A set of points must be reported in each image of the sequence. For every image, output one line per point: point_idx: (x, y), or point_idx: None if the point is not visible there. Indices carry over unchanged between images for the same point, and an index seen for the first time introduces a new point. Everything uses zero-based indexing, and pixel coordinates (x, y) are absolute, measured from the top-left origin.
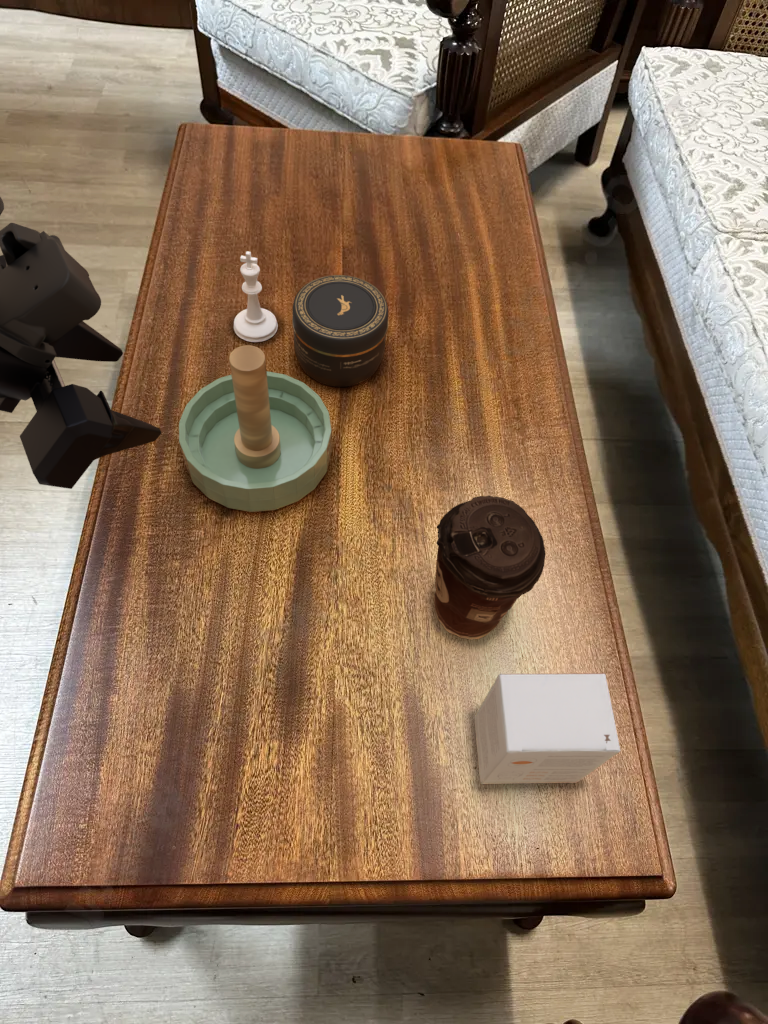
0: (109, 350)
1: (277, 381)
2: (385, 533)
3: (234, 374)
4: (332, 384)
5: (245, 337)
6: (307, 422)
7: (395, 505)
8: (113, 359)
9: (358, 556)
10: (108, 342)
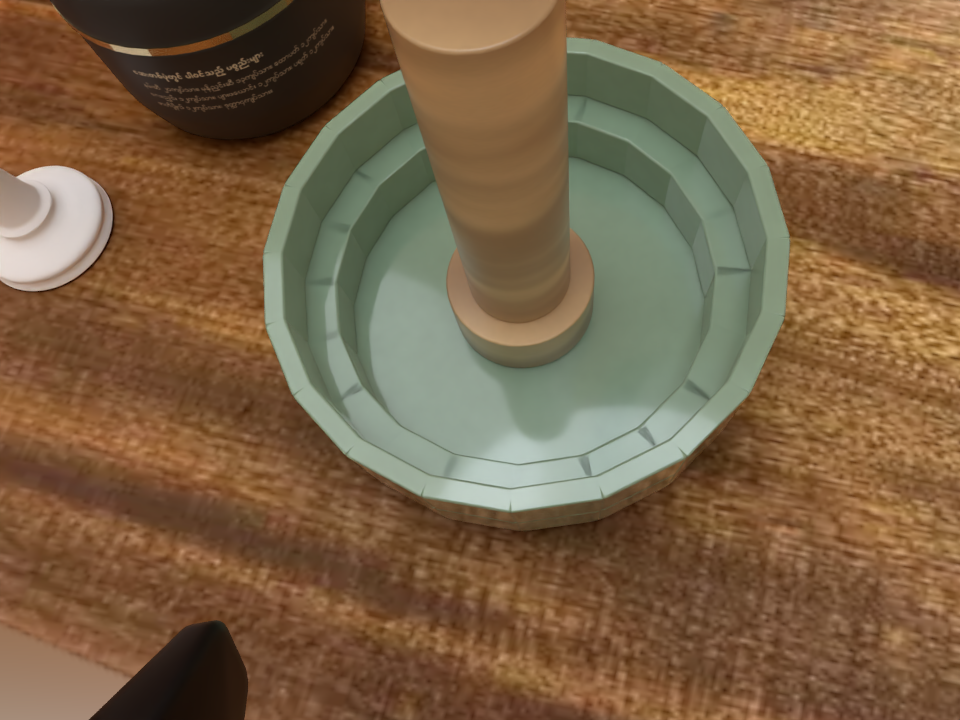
0: (195, 715)
1: (334, 160)
2: (872, 54)
3: (518, 82)
4: (349, 69)
5: (80, 262)
6: None
7: (784, 16)
8: (239, 699)
9: (939, 129)
10: (139, 710)
